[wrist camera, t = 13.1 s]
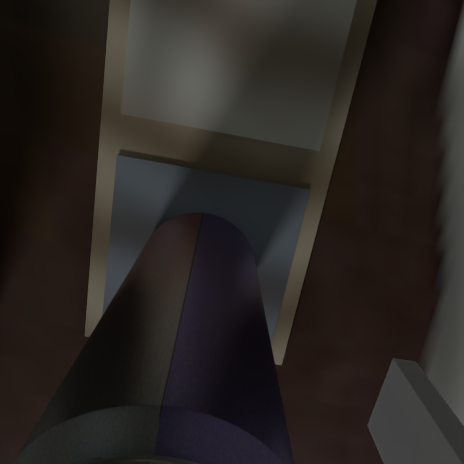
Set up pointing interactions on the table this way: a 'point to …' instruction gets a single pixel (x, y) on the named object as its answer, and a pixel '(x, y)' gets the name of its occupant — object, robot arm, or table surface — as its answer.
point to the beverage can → (173, 363)
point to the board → (223, 131)
